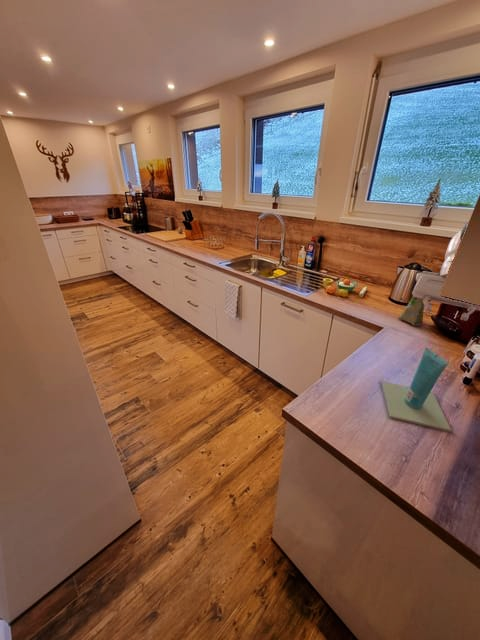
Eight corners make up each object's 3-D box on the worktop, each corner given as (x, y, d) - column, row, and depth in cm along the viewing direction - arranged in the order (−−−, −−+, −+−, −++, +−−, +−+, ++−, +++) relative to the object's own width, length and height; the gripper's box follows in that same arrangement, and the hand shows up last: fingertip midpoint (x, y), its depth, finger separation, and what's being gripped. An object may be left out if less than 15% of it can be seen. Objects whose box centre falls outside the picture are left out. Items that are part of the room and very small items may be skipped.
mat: (432, 394, 89) (433, 392, 89) (450, 432, 75) (451, 430, 75) (381, 383, 93) (381, 381, 92) (389, 417, 79) (390, 415, 79)
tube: (428, 410, 82) (455, 360, 72) (417, 413, 80) (443, 363, 71) (408, 393, 88) (430, 345, 78) (397, 396, 86) (418, 348, 77)
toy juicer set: (324, 295, 162) (326, 283, 158) (321, 285, 177) (323, 274, 174) (373, 300, 157) (376, 288, 154) (366, 289, 173) (369, 278, 169)
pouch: (408, 327, 130) (428, 279, 118) (392, 316, 140) (408, 271, 128) (427, 326, 132) (448, 279, 120) (409, 315, 142) (427, 270, 130)
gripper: (420, 265, 85) (408, 302, 82) (502, 278, 76) (492, 321, 73) (416, 274, 91) (404, 310, 88) (491, 288, 81) (481, 328, 79)
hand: (445, 315), depth 80 cm, fingers open, 8 cm apart
